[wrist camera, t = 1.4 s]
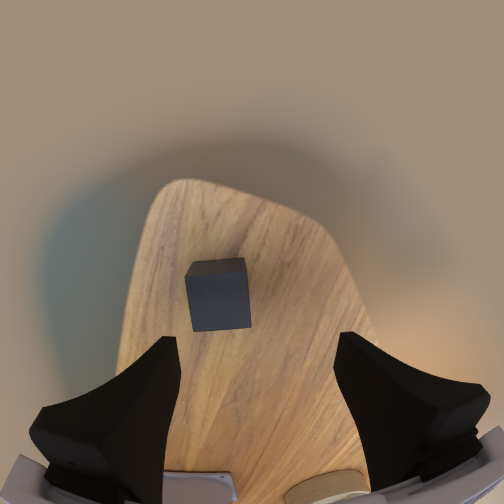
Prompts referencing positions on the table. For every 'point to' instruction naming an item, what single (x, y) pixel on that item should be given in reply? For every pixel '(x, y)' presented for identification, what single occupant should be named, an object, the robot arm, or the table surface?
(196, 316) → the cube
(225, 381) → the table surface
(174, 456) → the table surface
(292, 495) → the bowl
